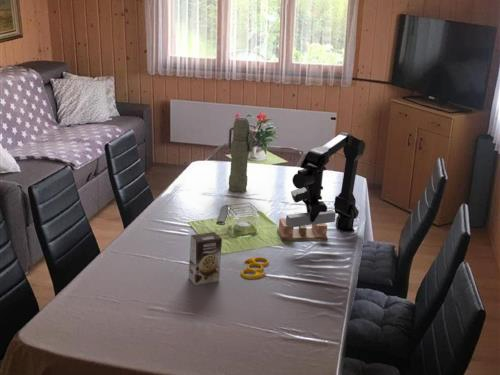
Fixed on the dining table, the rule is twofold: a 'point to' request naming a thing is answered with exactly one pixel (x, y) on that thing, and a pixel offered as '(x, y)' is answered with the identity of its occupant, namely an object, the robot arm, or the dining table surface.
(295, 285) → the dining table surface
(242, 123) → the thermos
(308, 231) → the display stand
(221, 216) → the gray half cylinder
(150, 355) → the dining table surface
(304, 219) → the grey long bar
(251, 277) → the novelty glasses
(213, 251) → the brown food box
